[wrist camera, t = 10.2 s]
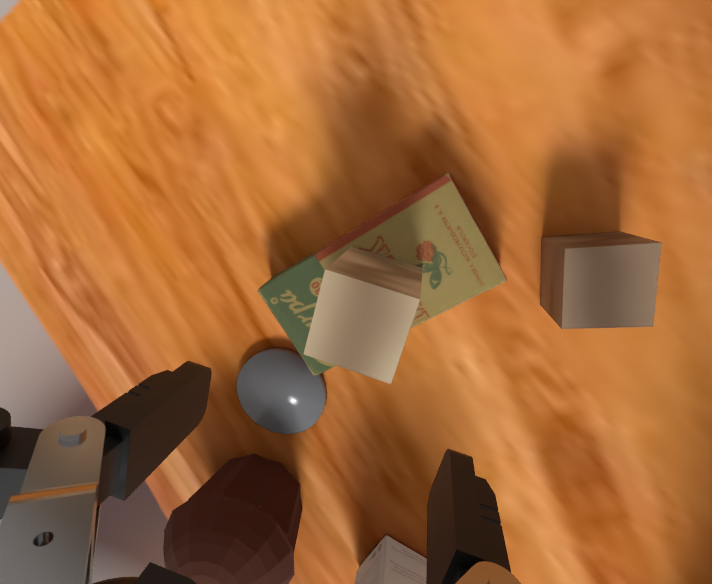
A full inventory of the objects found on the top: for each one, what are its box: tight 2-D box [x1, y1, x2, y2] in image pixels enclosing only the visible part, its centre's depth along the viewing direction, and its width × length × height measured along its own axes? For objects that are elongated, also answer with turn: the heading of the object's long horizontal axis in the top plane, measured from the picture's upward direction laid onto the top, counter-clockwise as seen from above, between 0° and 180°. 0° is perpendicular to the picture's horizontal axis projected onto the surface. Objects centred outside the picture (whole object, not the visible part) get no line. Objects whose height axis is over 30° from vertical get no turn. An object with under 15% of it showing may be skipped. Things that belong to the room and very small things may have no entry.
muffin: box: [163, 454, 302, 584], centre depth 34 cm, size 12×11×10 cm
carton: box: [258, 172, 507, 375], centre depth 29 cm, size 8×16×4 cm, turn 122°
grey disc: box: [237, 348, 327, 434], centre depth 35 cm, size 8×8×1 cm
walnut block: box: [540, 232, 661, 329], centre depth 26 cm, size 5×5×5 cm
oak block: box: [304, 246, 423, 384], centre depth 24 cm, size 5×5×7 cm
